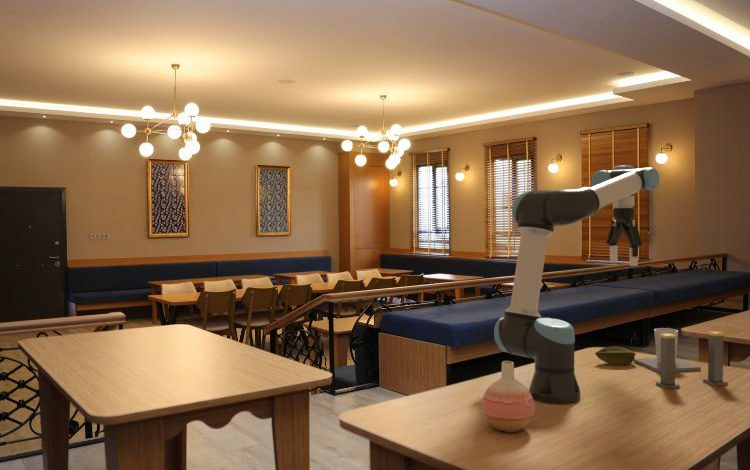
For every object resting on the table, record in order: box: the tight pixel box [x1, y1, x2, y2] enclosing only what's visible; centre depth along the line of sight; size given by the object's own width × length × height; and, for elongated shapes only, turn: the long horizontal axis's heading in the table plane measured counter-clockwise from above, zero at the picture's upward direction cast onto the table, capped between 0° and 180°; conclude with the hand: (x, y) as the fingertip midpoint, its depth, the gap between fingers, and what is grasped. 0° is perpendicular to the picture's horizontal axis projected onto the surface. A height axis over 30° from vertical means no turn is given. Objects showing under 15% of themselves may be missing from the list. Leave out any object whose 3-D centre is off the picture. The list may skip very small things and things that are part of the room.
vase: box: [481, 360, 536, 433], centre depth 164 cm, size 14×14×18 cm
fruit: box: [594, 345, 637, 367], centre depth 232 cm, size 11×12×7 cm
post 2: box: [702, 330, 729, 387], centre depth 204 cm, size 5×5×17 cm
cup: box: [653, 327, 679, 364], centre depth 228 cm, size 8×8×12 cm
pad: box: [633, 357, 702, 374], centre depth 228 cm, size 16×16×1 cm
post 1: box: [655, 333, 681, 390], centre depth 202 cm, size 5×5×17 cm
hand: (623, 264), depth 235 cm, fingers open, 13 cm apart
